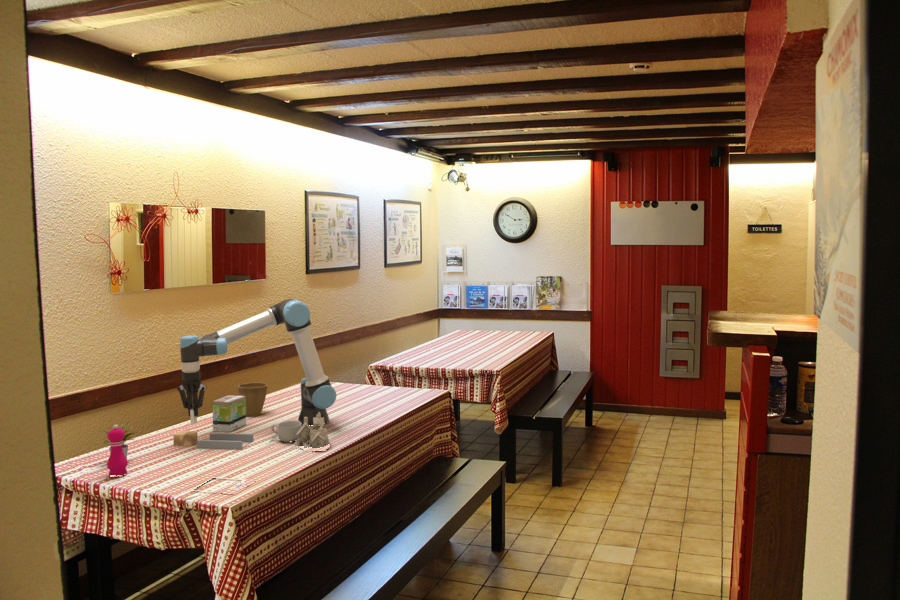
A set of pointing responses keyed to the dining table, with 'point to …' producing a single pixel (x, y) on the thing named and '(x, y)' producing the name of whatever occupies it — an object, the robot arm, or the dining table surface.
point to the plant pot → (253, 397)
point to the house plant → (125, 447)
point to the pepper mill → (116, 452)
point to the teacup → (287, 430)
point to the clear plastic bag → (228, 479)
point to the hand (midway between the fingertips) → (194, 423)
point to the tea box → (229, 413)
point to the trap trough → (226, 441)
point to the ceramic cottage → (312, 433)
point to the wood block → (185, 438)
